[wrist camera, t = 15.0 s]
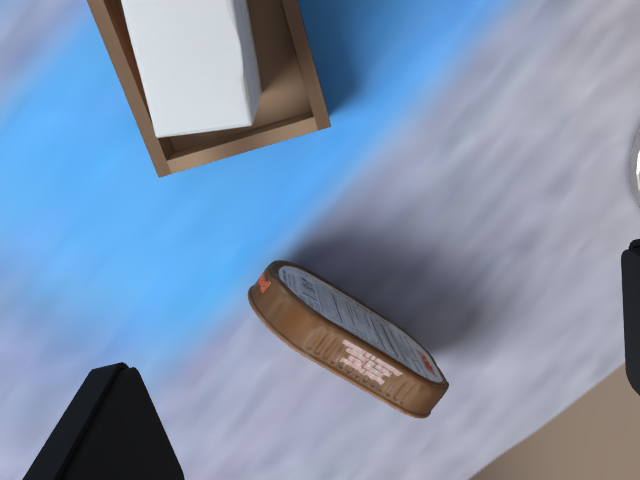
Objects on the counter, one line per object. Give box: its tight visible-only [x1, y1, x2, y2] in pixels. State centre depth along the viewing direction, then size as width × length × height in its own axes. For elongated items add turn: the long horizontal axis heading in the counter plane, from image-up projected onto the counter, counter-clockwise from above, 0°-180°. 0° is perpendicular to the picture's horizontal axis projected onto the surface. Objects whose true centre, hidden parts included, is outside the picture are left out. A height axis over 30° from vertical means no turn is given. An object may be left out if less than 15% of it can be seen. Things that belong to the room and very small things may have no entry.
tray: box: [87, 0, 331, 178], centre depth 30 cm, size 11×12×4 cm
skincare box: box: [121, 0, 262, 138], centre depth 26 cm, size 6×4×12 cm
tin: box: [248, 261, 449, 418], centre depth 35 cm, size 15×3×8 cm, turn 54°
